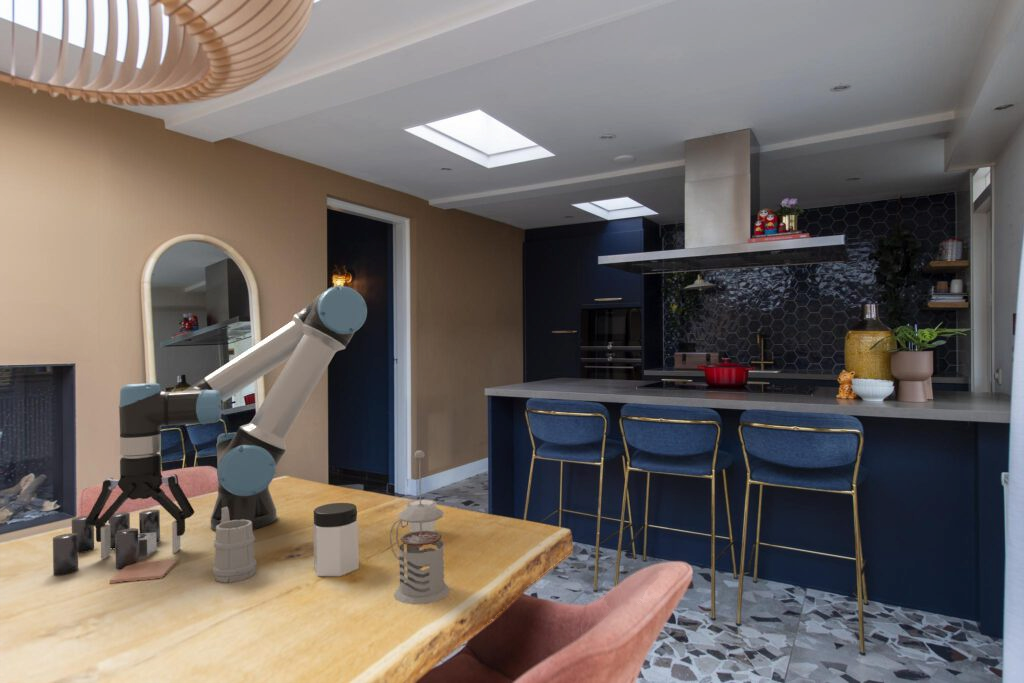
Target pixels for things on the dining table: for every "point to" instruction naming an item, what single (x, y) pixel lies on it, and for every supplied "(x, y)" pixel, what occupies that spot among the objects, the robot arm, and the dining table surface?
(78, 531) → the cylinder
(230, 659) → the dining table surface
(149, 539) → the nut
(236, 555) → the mug
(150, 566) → the coaster
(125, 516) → the cylinder
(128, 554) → the cylinder
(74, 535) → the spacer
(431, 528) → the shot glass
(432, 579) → the french press
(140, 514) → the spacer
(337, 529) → the jar
